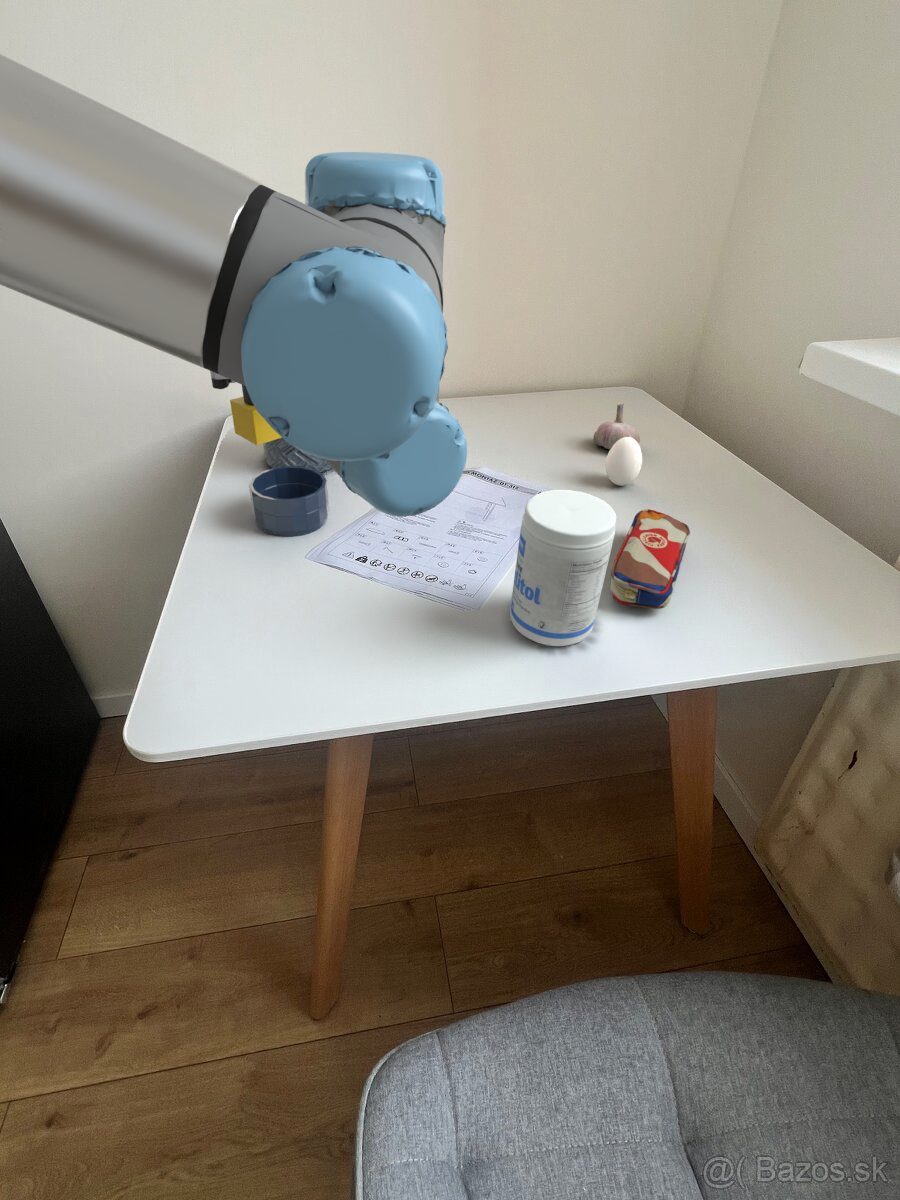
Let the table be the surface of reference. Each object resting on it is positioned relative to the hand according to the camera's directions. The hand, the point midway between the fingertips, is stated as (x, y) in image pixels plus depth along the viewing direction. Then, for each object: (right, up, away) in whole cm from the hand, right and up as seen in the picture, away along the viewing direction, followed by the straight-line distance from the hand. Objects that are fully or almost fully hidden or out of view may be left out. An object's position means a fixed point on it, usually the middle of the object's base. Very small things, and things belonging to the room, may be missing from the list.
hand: (231, 312), depth 68 cm
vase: (-2, -6, +43) cm, 43 cm away
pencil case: (+46, -25, +20) cm, 56 cm away
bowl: (0, -17, +28) cm, 32 cm away
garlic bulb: (+50, -2, +51) cm, 71 cm away
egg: (+48, -10, +40) cm, 63 cm away
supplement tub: (+33, -31, +11) cm, 47 cm away
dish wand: (+2, -11, +2) cm, 12 cm away
